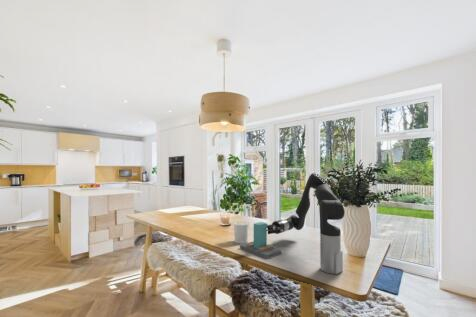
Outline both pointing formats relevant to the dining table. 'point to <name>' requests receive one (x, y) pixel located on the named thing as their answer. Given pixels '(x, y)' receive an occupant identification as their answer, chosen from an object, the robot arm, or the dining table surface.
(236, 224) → the candle holder
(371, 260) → the dining table surface
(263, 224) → the long teal prism
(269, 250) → the display stand
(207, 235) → the dining table surface
